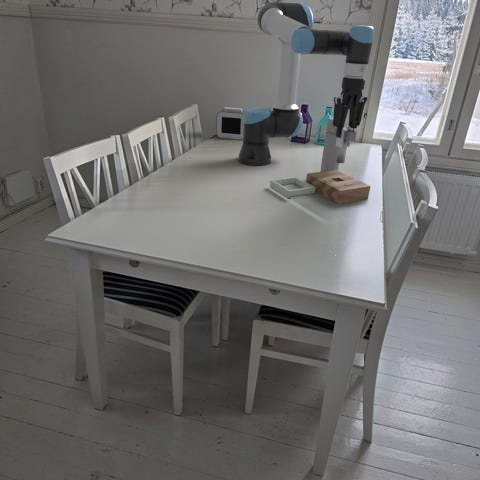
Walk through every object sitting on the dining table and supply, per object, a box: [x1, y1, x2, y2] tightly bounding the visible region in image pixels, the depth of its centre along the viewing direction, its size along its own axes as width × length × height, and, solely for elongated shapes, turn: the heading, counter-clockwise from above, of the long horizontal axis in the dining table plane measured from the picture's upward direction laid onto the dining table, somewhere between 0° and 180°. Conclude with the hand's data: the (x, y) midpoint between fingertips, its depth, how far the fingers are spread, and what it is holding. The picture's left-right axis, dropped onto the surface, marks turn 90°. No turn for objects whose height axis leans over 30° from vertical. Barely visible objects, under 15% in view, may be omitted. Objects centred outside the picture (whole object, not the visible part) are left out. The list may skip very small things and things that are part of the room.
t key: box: [334, 127, 357, 164], centre depth 151 cm, size 3×8×12 cm, turn 27°
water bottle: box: [319, 116, 347, 172], centre depth 170 cm, size 9×8×25 cm
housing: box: [305, 170, 371, 205], centre depth 158 cm, size 20×14×6 cm
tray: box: [269, 176, 316, 200], centre depth 160 cm, size 13×12×3 cm
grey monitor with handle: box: [215, 106, 247, 141], centre depth 231 cm, size 16×11×16 cm
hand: (342, 145), depth 151 cm, fingers closed on t key, 3 cm apart
